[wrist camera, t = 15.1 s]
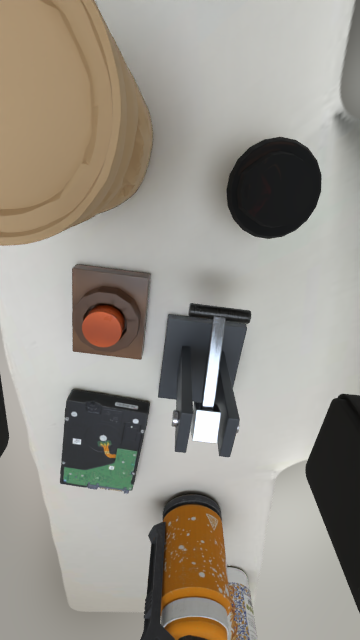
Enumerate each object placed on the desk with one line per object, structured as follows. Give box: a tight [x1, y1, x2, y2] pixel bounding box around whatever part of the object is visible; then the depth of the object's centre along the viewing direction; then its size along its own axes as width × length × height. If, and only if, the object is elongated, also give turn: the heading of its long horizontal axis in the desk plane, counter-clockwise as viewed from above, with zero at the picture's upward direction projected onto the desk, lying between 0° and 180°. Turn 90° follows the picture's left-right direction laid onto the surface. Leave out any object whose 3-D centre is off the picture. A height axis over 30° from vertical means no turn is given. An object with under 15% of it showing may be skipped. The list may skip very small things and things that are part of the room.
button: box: [82, 305, 125, 347], centre depth 33 cm, size 4×4×2 cm
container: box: [0, 0, 153, 246], centre depth 22 cm, size 13×13×18 cm
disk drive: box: [60, 389, 150, 493], centre depth 44 cm, size 10×3×15 cm
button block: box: [72, 264, 150, 359], centre depth 36 cm, size 10×8×4 cm
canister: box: [140, 494, 231, 640], centre depth 42 cm, size 9×11×20 cm
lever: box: [189, 303, 251, 443], centre depth 29 cm, size 12×6×2 cm, turn 173°
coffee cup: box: [227, 137, 321, 239], centre depth 27 cm, size 7×7×10 cm
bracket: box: [158, 314, 247, 457], centre depth 34 cm, size 11×9×13 cm
